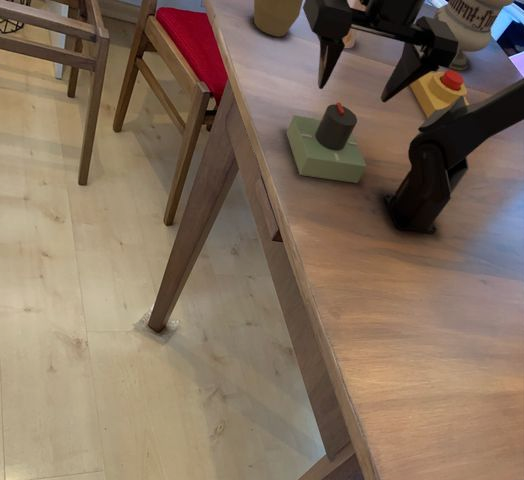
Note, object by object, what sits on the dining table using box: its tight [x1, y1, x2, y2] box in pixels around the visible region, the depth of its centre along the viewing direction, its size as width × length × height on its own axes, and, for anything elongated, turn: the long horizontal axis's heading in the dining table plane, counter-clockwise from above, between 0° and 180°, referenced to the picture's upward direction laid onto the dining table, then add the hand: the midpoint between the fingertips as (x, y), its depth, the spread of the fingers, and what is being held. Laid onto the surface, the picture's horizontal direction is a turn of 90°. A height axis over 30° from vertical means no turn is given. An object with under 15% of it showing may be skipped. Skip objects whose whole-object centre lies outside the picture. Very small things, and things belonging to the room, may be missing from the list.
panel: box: [286, 114, 368, 184], centre depth 78 cm, size 9×9×3 cm
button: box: [440, 69, 465, 91], centre depth 97 cm, size 4×4×2 cm
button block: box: [409, 71, 470, 119], centre depth 99 cm, size 12×9×4 cm
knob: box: [315, 102, 358, 150], centre depth 75 cm, size 4×4×4 cm
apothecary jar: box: [433, 0, 516, 71], centre depth 107 cm, size 12×12×18 cm
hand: (351, 93), depth 72 cm, fingers open, 9 cm apart
